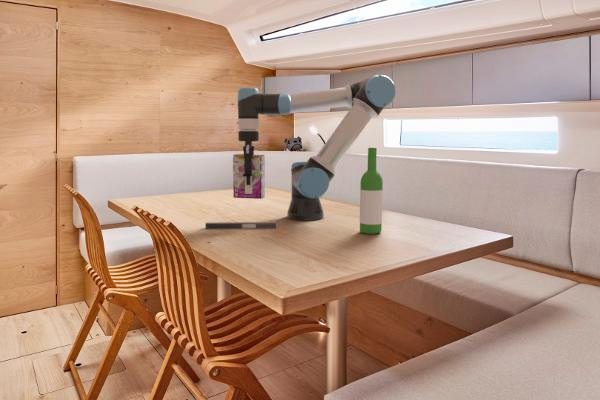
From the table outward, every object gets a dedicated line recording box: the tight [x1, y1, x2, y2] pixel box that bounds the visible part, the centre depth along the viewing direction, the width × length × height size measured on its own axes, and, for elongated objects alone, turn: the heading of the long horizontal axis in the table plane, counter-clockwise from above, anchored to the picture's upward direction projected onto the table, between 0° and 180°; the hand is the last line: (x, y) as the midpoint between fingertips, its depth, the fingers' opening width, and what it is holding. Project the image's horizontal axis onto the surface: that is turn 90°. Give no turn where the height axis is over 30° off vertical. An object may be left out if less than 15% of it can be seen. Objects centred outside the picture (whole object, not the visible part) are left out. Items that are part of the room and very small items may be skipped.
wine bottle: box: [359, 147, 384, 235], centre depth 164 cm, size 8×8×30 cm
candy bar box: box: [232, 153, 266, 200], centre depth 175 cm, size 11×5×16 cm, turn 79°
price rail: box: [205, 221, 277, 230], centre depth 173 cm, size 26×2×2 cm, turn 92°
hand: (249, 192), depth 176 cm, fingers closed on candy bar box, 6 cm apart
